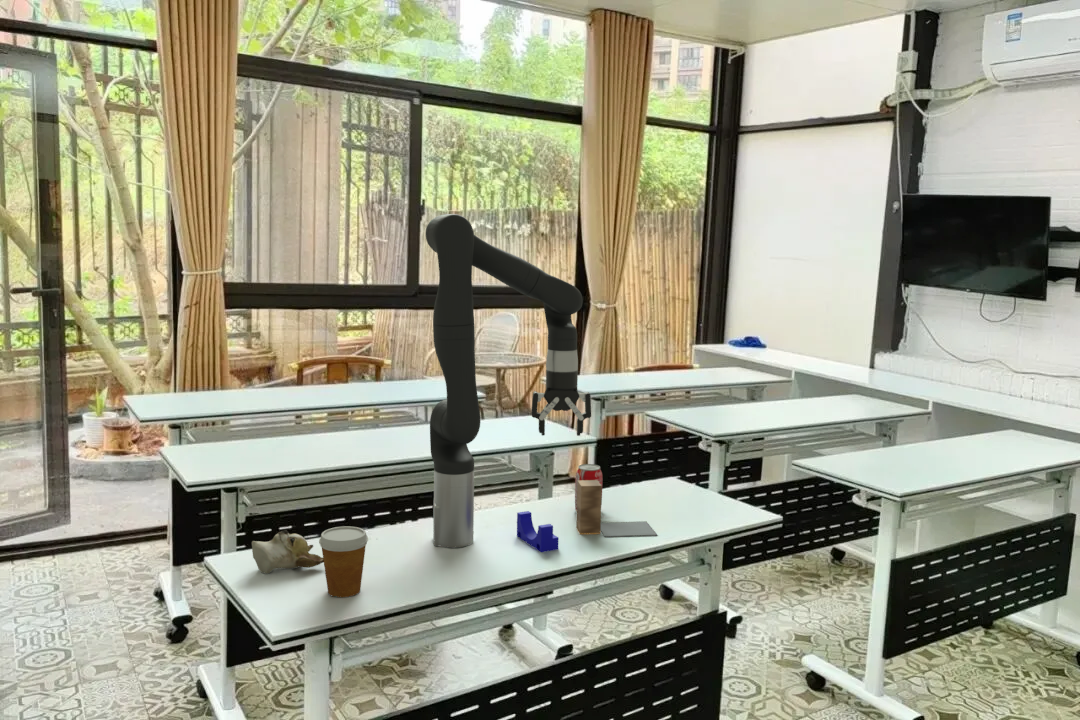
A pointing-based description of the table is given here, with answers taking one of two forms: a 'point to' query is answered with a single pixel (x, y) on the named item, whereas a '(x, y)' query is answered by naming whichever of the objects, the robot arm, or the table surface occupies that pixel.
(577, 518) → the light brown wooden block
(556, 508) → the table surface
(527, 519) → the cable clip
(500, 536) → the table surface
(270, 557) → the ceramic sculpture
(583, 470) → the soda can
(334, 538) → the disposable coffee cup
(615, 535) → the rubber mat
